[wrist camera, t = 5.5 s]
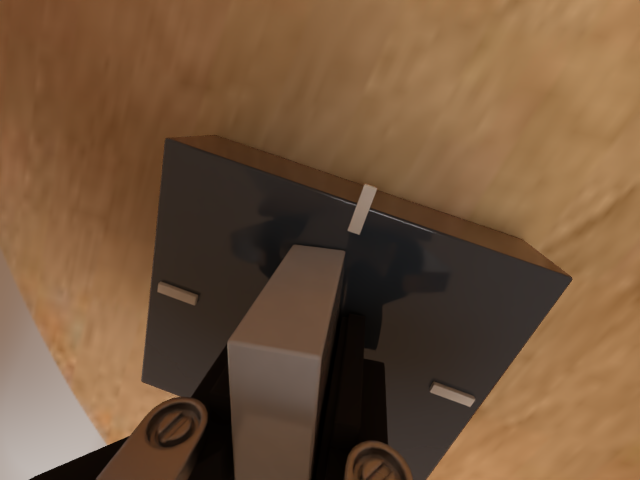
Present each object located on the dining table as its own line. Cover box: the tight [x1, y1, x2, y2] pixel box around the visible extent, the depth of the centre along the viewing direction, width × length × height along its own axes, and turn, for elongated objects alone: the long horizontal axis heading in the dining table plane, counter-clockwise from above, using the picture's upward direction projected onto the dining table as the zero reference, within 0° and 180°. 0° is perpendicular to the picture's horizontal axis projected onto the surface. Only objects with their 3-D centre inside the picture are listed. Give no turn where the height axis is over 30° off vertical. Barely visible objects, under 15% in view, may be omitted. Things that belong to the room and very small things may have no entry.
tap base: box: [141, 135, 572, 480], centre depth 12 cm, size 12×11×3 cm
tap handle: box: [227, 244, 345, 480], centre depth 8 cm, size 7×2×5 cm, turn 176°
